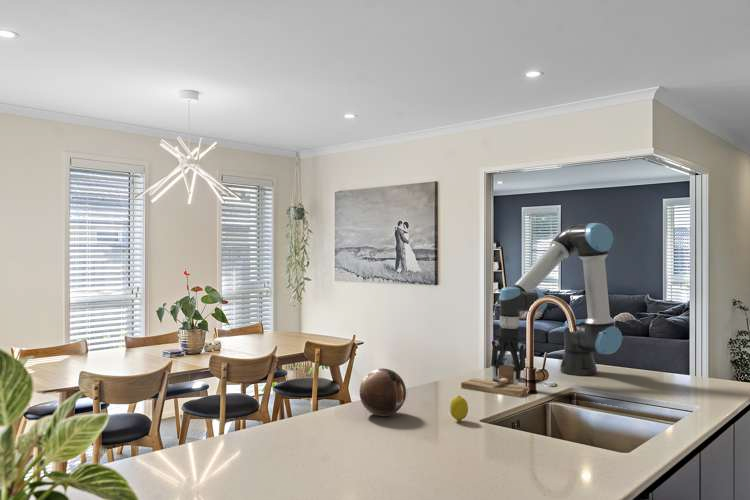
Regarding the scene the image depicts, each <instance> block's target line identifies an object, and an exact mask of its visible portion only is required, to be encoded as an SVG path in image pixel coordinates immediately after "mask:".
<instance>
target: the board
mask: <svg viewBox="0 0 750 500" xmlns="http://www.w3.org/2000/svg"><path fill="white" fill-rule="evenodd" d="M492 382H493V380H487V379H480V378H471V379H467V380H464V381H462V382H460V383H461V384H460V388H461V389H466V390H473V391H478V392H479V391H480V392H485V393H492V394H498V395H503V396H504V395H505V396H509V397H517V398H520V397H522V396H524V395H527V394H528V393H527V391H528V387H525V386H526V385H522V384H518V385H516V384H509V383H504V384H501V385H499V386H492Z"/></svg>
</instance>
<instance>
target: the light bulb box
mask: <svg viewBox="0 0 750 500" xmlns="http://www.w3.org/2000/svg"><path fill="white" fill-rule="evenodd" d="M499 354H500V350H498V356H497V360H498V357H499ZM517 355H518V359H519V360H520V355H519V351H517ZM501 365H510V366H514V362H513V358H512V354H511V353H510V351H506V352H505V355H504V358H503V361H502V364H501ZM497 377H498V376H496V368H495V367H494V366H492V380H493V379H496V380H497Z"/></svg>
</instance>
